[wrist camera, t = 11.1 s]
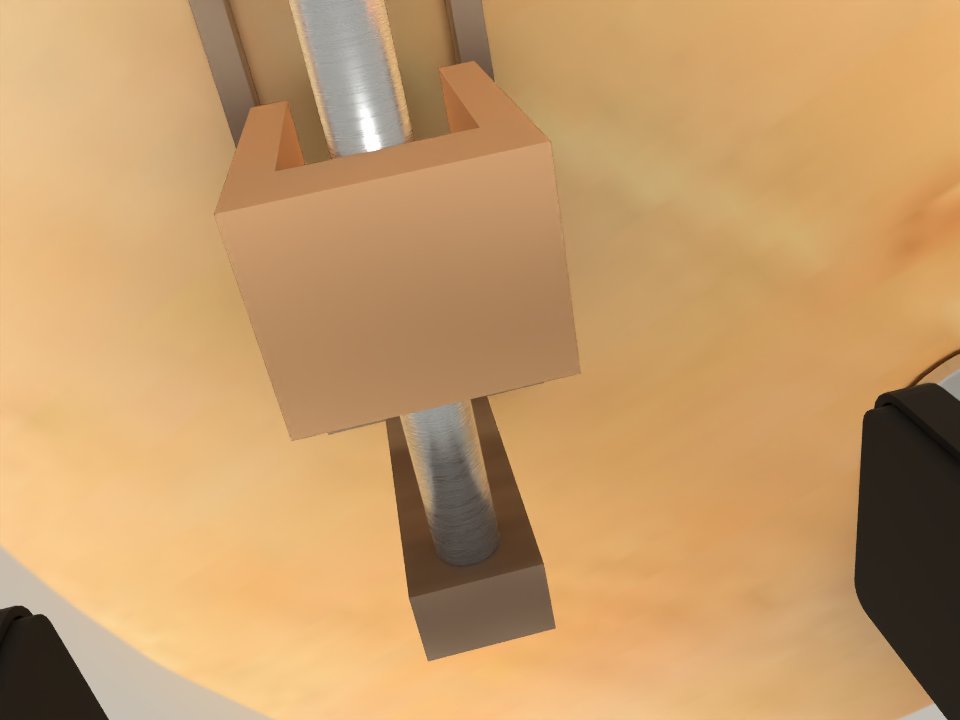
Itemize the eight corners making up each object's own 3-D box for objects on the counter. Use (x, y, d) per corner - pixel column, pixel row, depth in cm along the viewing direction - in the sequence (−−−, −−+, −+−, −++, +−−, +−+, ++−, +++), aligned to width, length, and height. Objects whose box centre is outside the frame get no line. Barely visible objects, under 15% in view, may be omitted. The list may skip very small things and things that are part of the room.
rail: (504, 561, 25) (516, 605, 24) (444, 576, 25) (453, 621, 24) (307, -343, 15) (306, -372, 13) (205, -323, 15) (191, -350, 13)
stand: (535, 365, 36) (650, 611, 24) (327, 415, 36) (333, 693, 23) (424, -302, 25) (531, -505, 12) (118, -244, 25) (-92, -395, 12)
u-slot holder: (502, 230, 26) (580, 373, 18) (300, 275, 26) (291, 440, 18) (474, 60, 23) (550, 141, 16) (250, 107, 23) (214, 214, 15)
